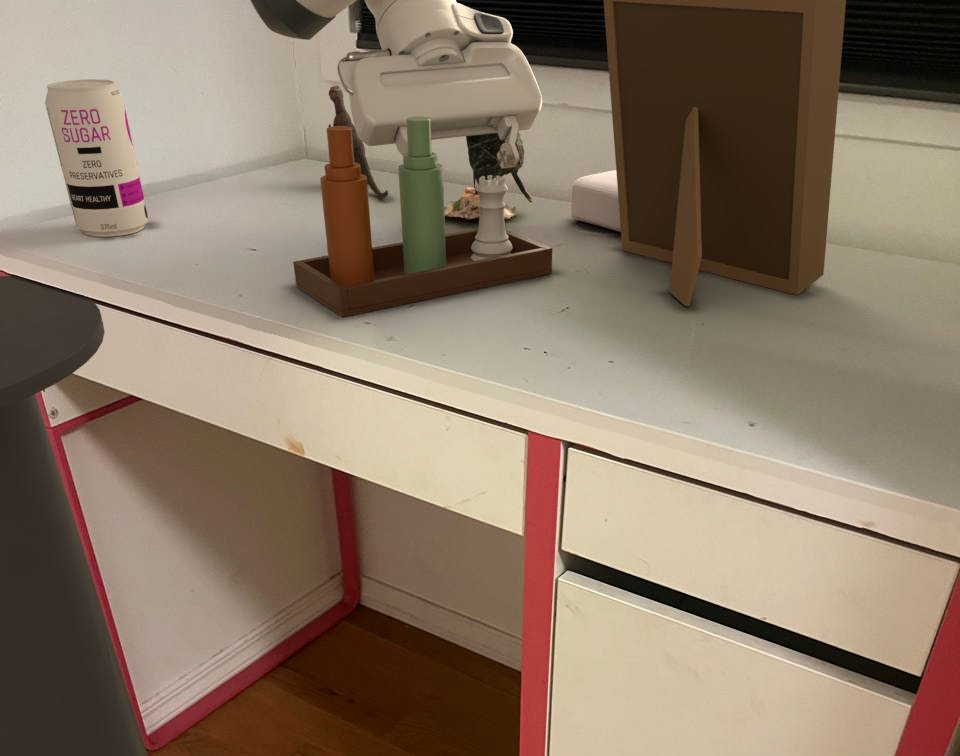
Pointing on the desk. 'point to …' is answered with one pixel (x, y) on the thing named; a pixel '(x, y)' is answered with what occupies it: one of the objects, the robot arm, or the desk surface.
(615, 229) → the charger
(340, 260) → the amber bottle
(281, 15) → the robot arm
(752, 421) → the desk surface
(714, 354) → the desk surface
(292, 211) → the desk surface
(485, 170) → the plant with pod
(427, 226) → the sage bottle
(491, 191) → the rook chess piece
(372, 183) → the dinosaur model
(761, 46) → the photo frame
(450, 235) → the tray
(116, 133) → the supplement can
